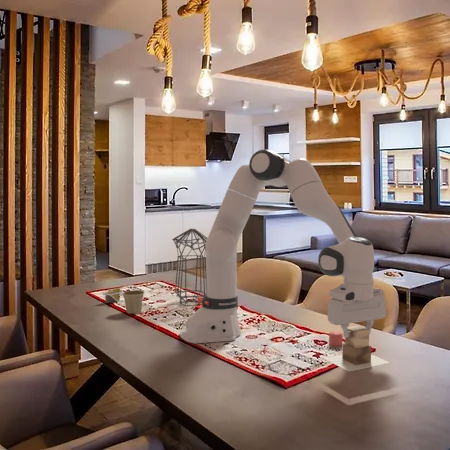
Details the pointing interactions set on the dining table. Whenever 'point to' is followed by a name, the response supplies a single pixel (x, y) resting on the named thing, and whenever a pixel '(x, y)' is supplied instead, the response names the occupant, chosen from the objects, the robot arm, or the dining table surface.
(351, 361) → the walnut base
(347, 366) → the board
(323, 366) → the dining table surface
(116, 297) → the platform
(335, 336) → the red capsule
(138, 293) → the flower pot
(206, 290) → the geometric lantern
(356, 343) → the beech cube
